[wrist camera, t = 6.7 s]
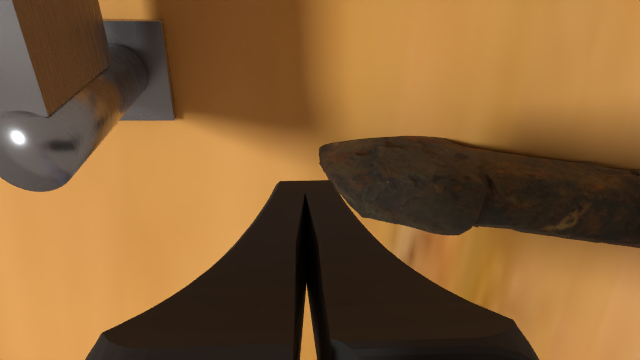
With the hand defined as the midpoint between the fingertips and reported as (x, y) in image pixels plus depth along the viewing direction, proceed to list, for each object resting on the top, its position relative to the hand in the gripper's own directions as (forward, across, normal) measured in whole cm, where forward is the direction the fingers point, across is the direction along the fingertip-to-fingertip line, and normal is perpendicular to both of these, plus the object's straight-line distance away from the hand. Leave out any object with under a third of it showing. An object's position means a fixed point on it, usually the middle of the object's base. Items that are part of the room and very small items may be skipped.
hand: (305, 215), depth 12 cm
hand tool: (+10, -10, +5) cm, 15 cm away
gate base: (+9, +7, -1) cm, 12 cm away
